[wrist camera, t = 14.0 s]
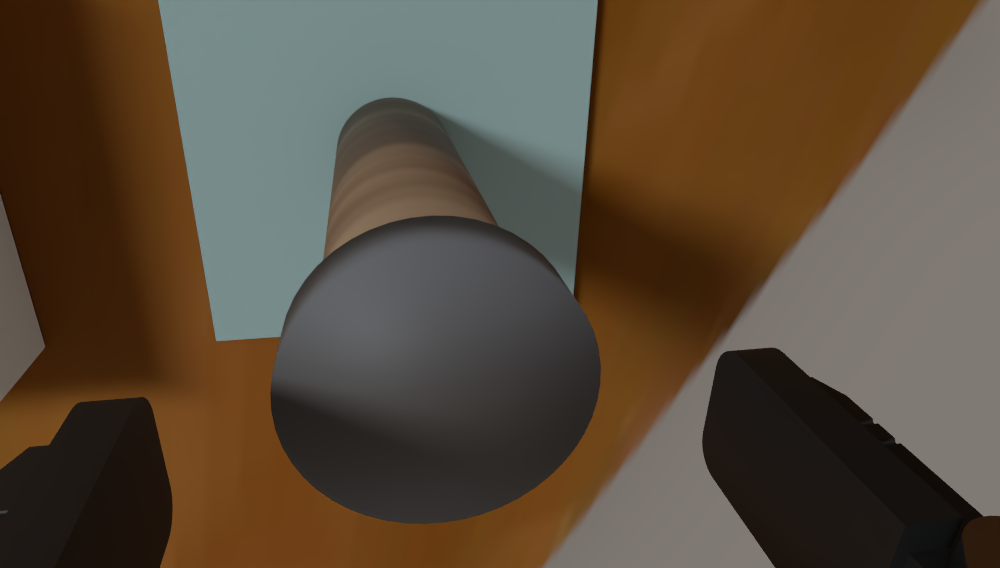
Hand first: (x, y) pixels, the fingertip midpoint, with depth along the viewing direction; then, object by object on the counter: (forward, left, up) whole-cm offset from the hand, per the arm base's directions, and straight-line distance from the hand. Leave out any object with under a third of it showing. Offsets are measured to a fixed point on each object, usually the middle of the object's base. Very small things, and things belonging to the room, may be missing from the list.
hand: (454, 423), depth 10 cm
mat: (0, 0, -16) cm, 16 cm away
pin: (0, 0, -16) cm, 16 cm away
